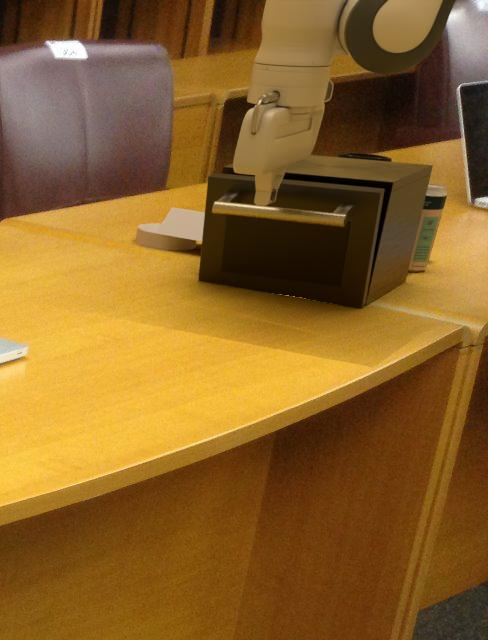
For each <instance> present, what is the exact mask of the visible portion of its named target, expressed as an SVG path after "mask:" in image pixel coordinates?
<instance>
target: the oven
mask: <svg viewBox="0 0 488 640" xmlns="http://www.w3.org/2000/svg"><path fill="white" fill-rule="evenodd" d="M433 166H434V165H433V164H424V163H411V162H399V161H391V162H388V161H376V160H364V159H352V158H340V157H338V156H327V155H316V154H315V155H314V154H311V155H310V157H309V158H308V159H307V160H304V161H301V162H298V163H295V164H292V165H289V166H286V171H285V175H284V177H283V179H286V180H296V181H307V182H318V183H329V184H339V185H350V186H361V187H372V188H382V189H385V190H384V196H383V202H382V208H381V214H380V220H379V226H378V232H377V238H376V244H375V250H374V256H373V262H372V268H371V274H370V280H369V286H368V292H367V298H366V304H365V305H364V306H367V305H369V304H372V302H374V301H376V300H377V299H379V298H380V297H383V296H384V295H387V294H388V293H389V292H391V291H393V290H394V289H395V288H397V287H399V286H401V285H403V284H404V283H406V282H407V278H408V273H409V272H408V270H409V265H410V261H411V257H412V252H413V248H414V244H415V240H416V235H417V231H418V227H419V223H420V218H421V214H422V210H423V206H424V201H425V197H426V193H427V188H428V184H430V179H431V176H432V175H431V174H432V171H433ZM221 174H232V175H243V176H254V177H255V175H248V174H240V173H235V172H234V169H233V163H231V164H228V165H225V166H222V171H221ZM364 306H363V307H364Z"/></svg>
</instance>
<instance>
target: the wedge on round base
mask: <svg viewBox="0 0 488 640" xmlns="http://www.w3.org/2000/svg"><path fill="white" fill-rule="evenodd" d="M204 217H205V211H198V210H193V209H186V208H180V207H174V206H172V207H171V208H170V210H169V212H168V213H167V215H166V216H165V218H164V219H163V220H162V222H159V223H156V222H154V223H152V222H151V223H149V222H148V223H142V224H139V225H137V228H136V234H135V240H134V242H135V244H137V245H138V246H140V247H146V248H149V249H155V250H162V251H189V250H194V249H195V248H196V246H197V242H202V237H203V227H204Z"/></svg>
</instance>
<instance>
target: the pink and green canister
mask: <svg viewBox="0 0 488 640" xmlns="http://www.w3.org/2000/svg"><path fill="white" fill-rule="evenodd" d="M447 198H448V192H447V187H446V186H445V185H440V184H435V183H429V184H428V188H427V193H426V197H425V201H424V206H423V210H422V214H421V218H420V223H419V227H418V231H417V235H416V240H415V244H414V248H413V252H412V257H411V261H410V265H409V270H408V273H420V272H422V271H424V270H426V269H427V268H428V265H429V261H430V258H431V255H432V251H433V247H434V244H435V240H436V237H437V233H438V229H439V226H440V222H441V219H442V216H443V212H444V208H445V204H446V201H447Z"/></svg>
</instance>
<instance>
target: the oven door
mask: <svg viewBox="0 0 488 640" xmlns="http://www.w3.org/2000/svg"><path fill="white" fill-rule="evenodd" d="M206 187H207V188H206V197H205V207H204V212H205V217H204V227H203V237H202V241H201V247H200V260H199V270H198V278H197V279H198V282H202V283H207V284H212V285H218V286H224V287H232V288H237V289H243V290H249V291H253V292H260V293H265V292H267V293H266V294H271V293H274V294H273V295H277V294H282V295H281V296H283V295H289V296H295V297H302V298H306V299H310V300H309V301H312V300H316V301H315V302H317V301H320V302H319V303H323V302H326V303H325V304H329V303H332V304H331V305H335V304H337V305H336V306H342V307H350V308H358V309H363V307H364V305H365V304H366V298H367V292H368V286H369V280H370V274H371V268H372V262H373V256H374V250H375V244H376V238H377V232H378V226H379V220H380V214H381V208H382V202H383V196H384V190H385V189H382V188H372V187H361V186H350V185H339V184H329V183H318V182H307V181H296V180H286V179H282V182H281V184H280V186H279V188H278V191H277V196H276V200H275V202H273V203H271V204H268V205H266V206H262V205H256V204H255V203H254V199H255V194H256V186H255V177H254V176H243V175H232V174H222V172H221V173H219V172H212V173H211V174H209V175H208V176H207V185H206ZM306 299H305V300H306Z"/></svg>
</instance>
